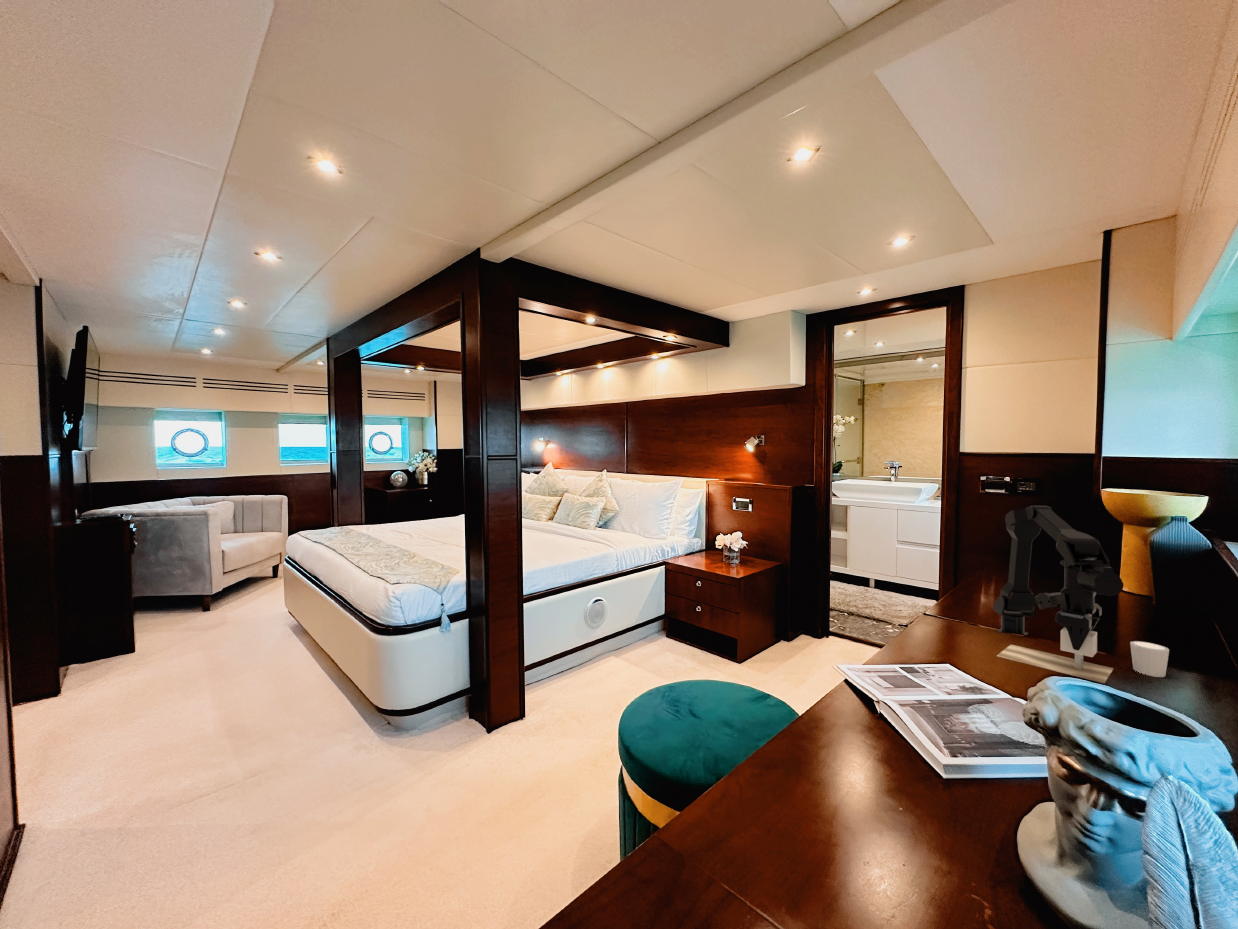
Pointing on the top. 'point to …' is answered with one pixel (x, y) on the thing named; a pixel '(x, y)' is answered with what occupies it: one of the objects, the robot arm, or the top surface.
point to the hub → (1087, 647)
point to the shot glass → (1149, 658)
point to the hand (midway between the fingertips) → (1078, 647)
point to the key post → (1078, 661)
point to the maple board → (1056, 663)
